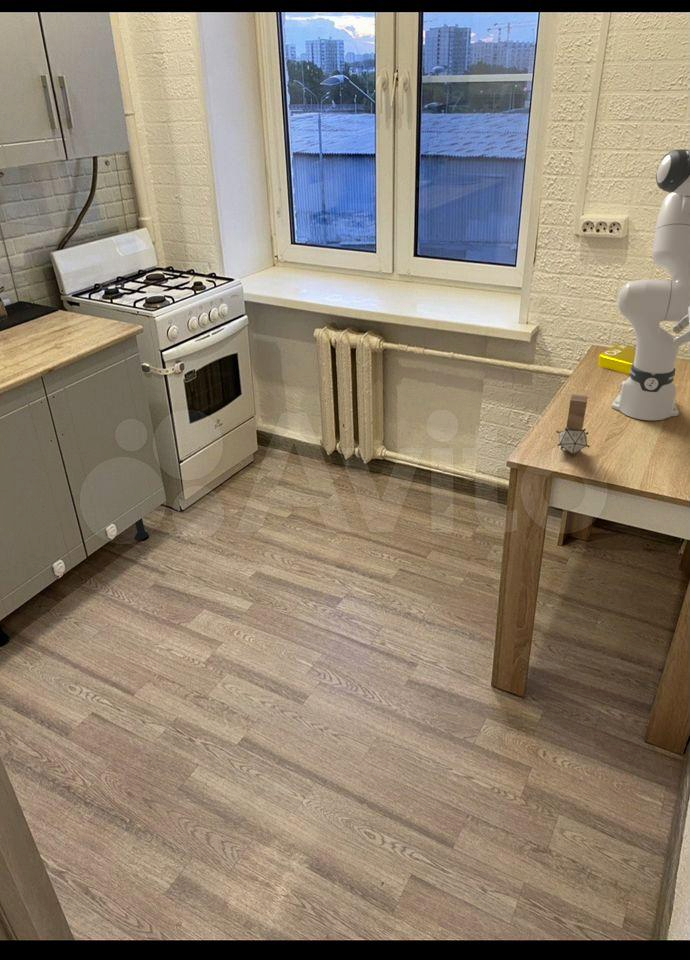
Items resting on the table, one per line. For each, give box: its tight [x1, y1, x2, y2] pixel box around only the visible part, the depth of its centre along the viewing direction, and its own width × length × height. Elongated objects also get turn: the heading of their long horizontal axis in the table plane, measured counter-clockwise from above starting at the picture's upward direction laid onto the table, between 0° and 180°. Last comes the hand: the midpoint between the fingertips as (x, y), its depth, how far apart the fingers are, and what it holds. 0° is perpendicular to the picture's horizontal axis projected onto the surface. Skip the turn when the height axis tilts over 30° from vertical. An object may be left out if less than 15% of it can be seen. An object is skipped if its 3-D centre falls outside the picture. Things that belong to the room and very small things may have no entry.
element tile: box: [597, 344, 636, 376], centre depth 244 cm, size 15×15×5 cm
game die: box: [556, 427, 591, 458], centre depth 190 cm, size 9×8×10 cm
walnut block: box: [565, 393, 589, 430], centre depth 186 cm, size 4×4×8 cm
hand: (674, 337), depth 168 cm, fingers open, 8 cm apart
